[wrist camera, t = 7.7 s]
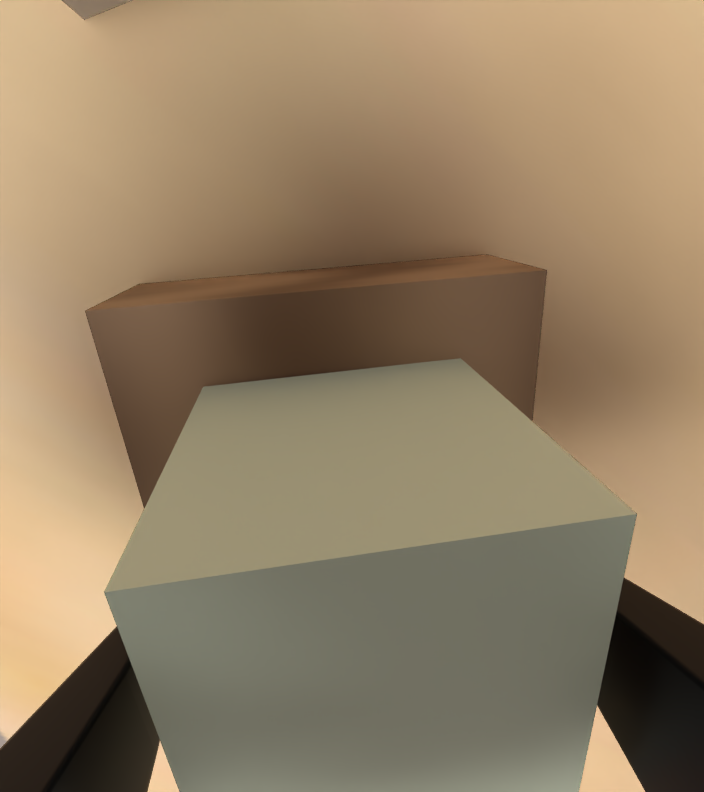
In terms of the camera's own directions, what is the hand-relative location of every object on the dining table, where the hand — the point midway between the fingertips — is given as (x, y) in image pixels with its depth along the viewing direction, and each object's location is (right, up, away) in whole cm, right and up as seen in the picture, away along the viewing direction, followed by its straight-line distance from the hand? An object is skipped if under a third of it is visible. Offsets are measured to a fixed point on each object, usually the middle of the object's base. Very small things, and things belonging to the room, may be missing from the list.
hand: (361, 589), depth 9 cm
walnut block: (-1, +3, +7) cm, 8 cm away
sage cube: (0, +1, +3) cm, 4 cm away
